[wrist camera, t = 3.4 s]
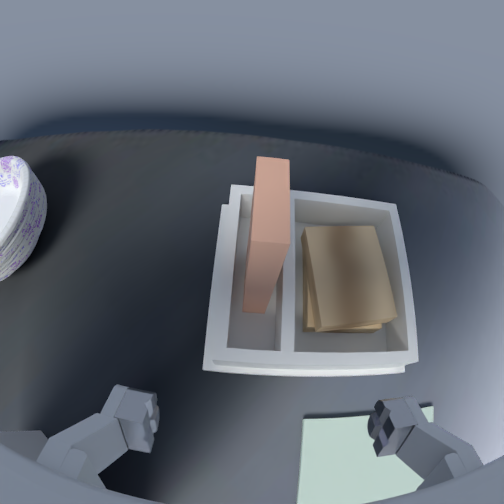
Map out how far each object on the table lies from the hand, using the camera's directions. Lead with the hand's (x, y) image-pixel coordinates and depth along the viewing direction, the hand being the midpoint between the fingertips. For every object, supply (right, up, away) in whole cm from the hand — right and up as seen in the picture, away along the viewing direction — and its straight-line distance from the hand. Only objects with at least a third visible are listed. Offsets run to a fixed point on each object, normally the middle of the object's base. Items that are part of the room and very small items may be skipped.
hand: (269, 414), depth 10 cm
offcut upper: (+8, +3, +17) cm, 19 cm away
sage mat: (+10, -16, +11) cm, 22 cm away
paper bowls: (-31, +7, +20) cm, 38 cm away
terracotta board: (0, +3, +19) cm, 19 cm away
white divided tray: (+5, +2, +20) cm, 20 cm away
